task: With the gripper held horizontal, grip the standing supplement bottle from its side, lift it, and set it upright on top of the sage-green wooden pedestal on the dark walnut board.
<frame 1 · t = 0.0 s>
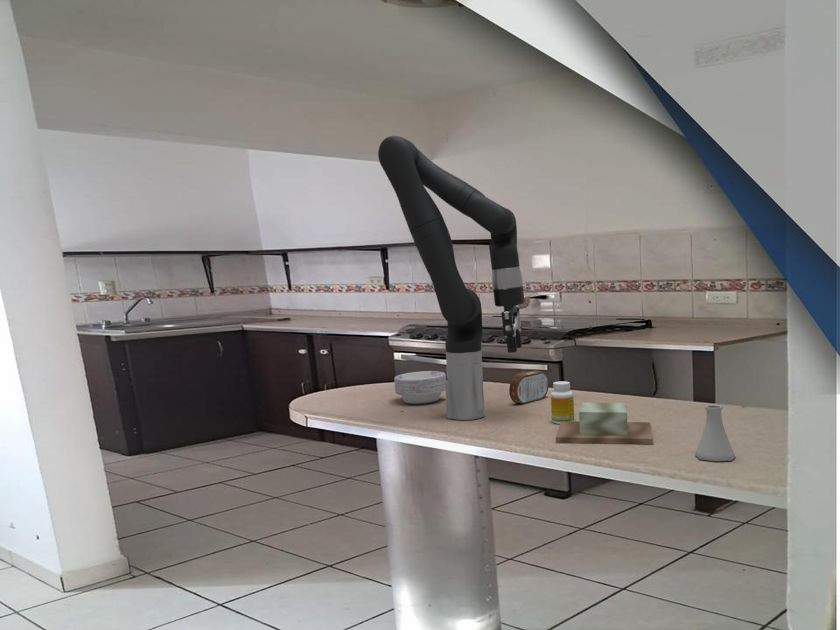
hand: (515, 350, 178), 17 cm above the table, tool pointing down, fingers open, 8 cm apart
tin: (530, 402, 198), on the table
pedestal: (604, 434, 156), on the table
supplement bottle: (563, 422, 171), on the table
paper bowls: (421, 401, 207), on the table
flask: (715, 458, 135), on the table
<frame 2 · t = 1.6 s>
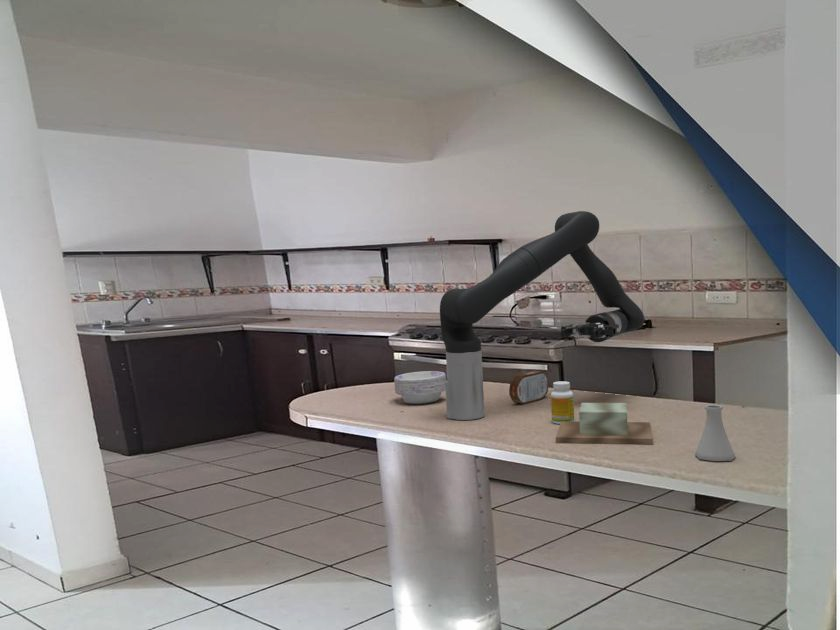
hand: (578, 334, 178), 20 cm above the table, tool horizontal, fingers open, 8 cm apart
nothing on the table moved.
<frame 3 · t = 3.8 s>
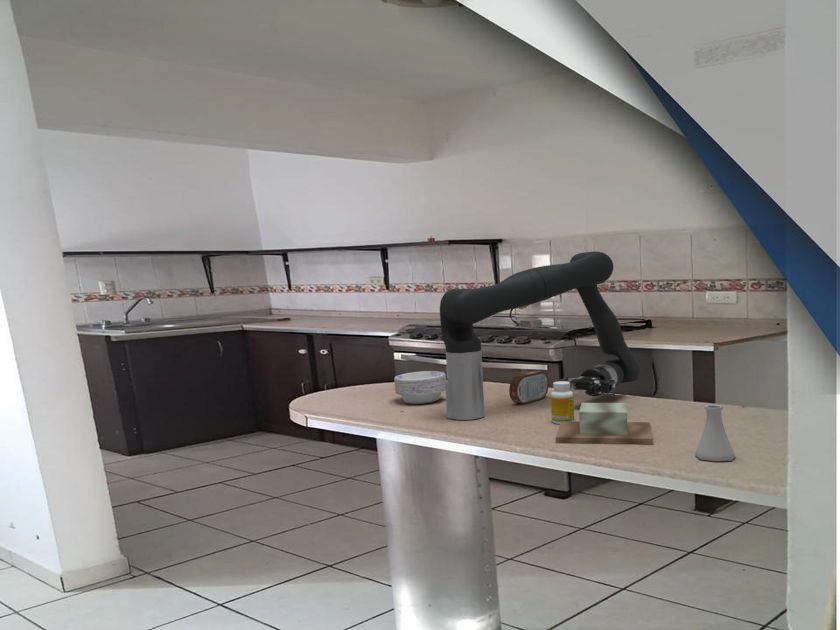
hand: (574, 390, 176), 6 cm above the table, tool horizontal, fingers open, 8 cm apart
nothing on the table moved.
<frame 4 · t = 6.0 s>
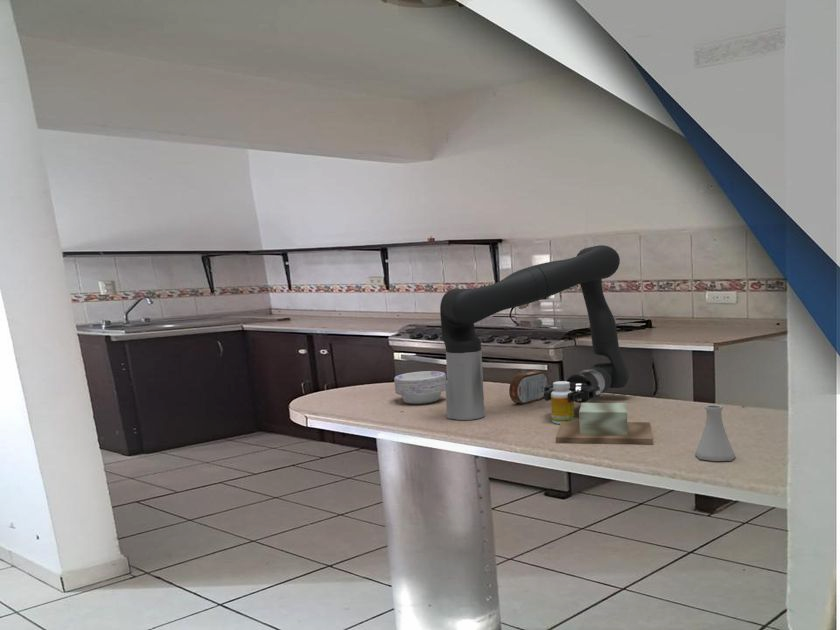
hand: (557, 397, 168), 7 cm above the table, tool horizontal, fingers closed on supplement bottle, 5 cm apart
supplement bottle: (563, 422, 171), on the table, touching gripper
everything else where it was.
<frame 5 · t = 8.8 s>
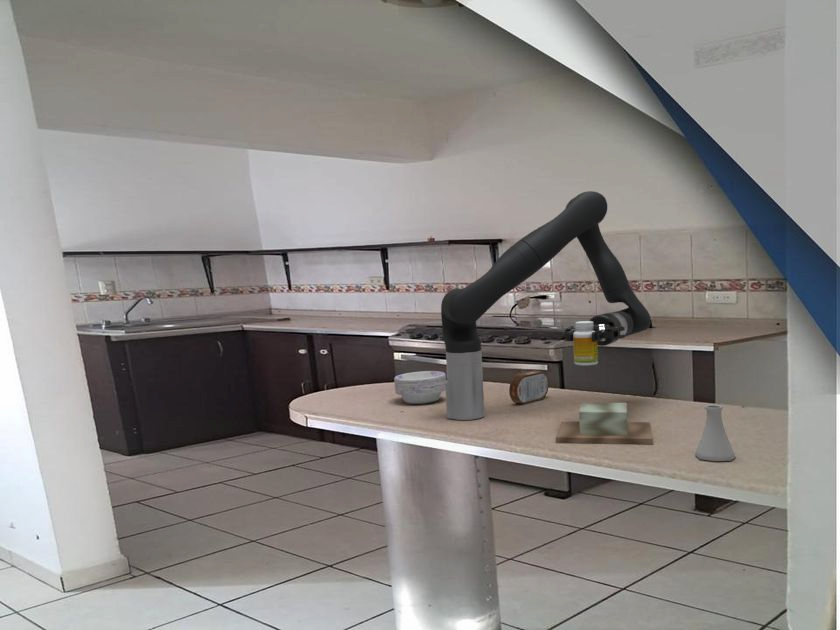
hand: (580, 337, 159), 22 cm above the table, tool horizontal, fingers closed on supplement bottle, 5 cm apart
supplement bottle: (586, 364, 161), point 15 cm above the table, touching gripper
everything else where it was.
when the fingers open (13 cm above the table, at t = 11.8 s): supplement bottle stays where it is, resting on pedestal.
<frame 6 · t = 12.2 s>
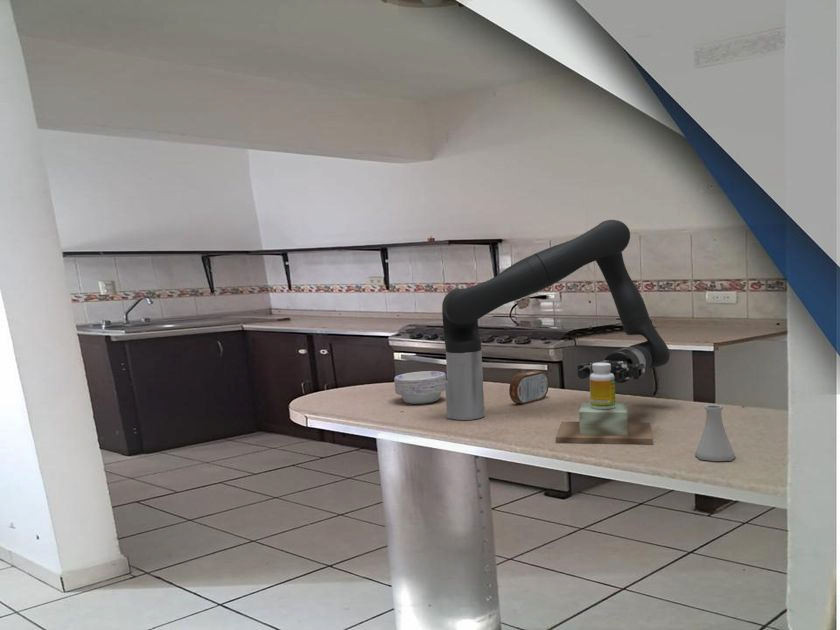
hand: (598, 375, 154), 14 cm above the table, tool horizontal, fingers open, 8 cm apart
supplement bottle: (603, 408, 156), point 6 cm above the table, touching pedestal
everything else where it was.
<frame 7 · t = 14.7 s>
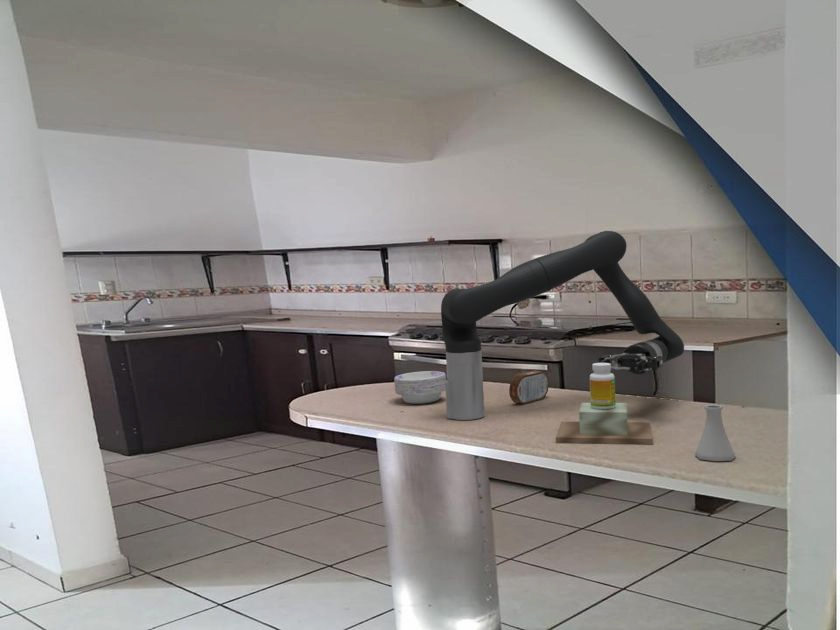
hand: (619, 366, 163), 14 cm above the table, tool horizontal, fingers open, 8 cm apart
nothing on the table moved.
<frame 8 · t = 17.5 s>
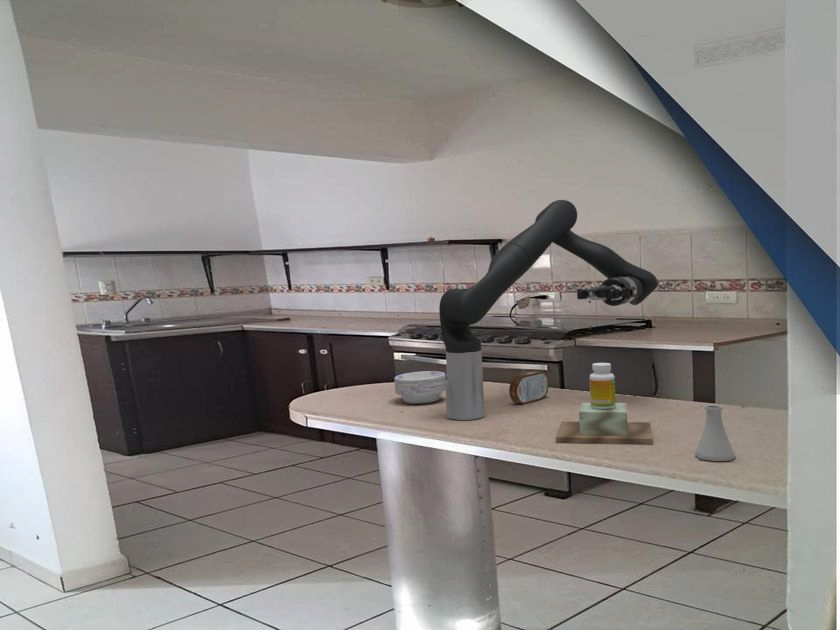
hand: (595, 294, 177), 30 cm above the table, tool horizontal, fingers open, 8 cm apart
nothing on the table moved.
at the end: supplement bottle inside the target area on the pedestal (0.2 cm from its centre), point 6.0 cm above the pedestal's base; supplement bottle tilted 0°; the gripper is holding nothing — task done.
